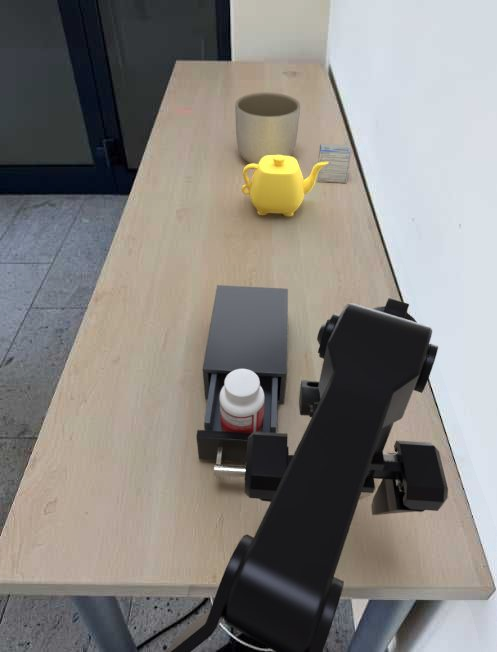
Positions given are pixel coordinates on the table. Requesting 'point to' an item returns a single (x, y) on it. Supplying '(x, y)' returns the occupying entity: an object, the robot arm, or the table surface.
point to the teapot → (278, 184)
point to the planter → (266, 125)
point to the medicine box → (334, 163)
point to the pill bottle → (242, 402)
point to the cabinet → (248, 334)
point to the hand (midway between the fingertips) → (330, 507)
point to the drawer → (232, 443)
